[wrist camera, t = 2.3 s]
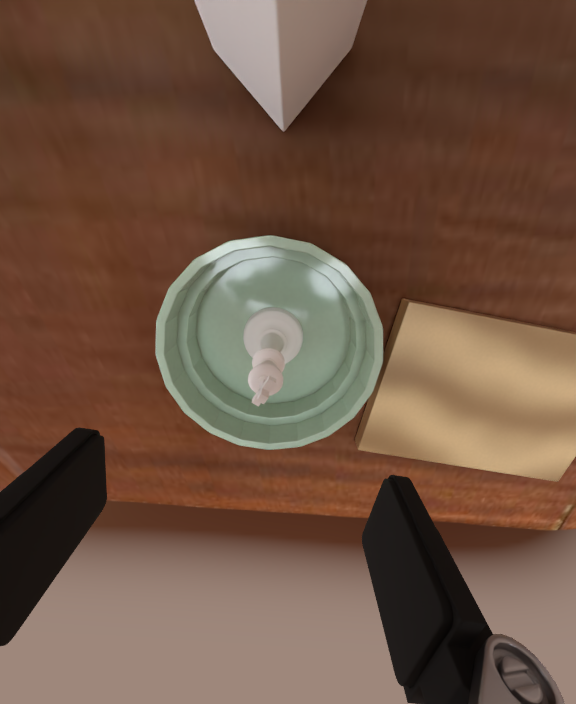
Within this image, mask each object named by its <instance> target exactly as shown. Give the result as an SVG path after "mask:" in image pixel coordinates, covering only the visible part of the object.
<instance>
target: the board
mask: <svg viewBox="0 0 576 704" xmlns="http://www.w3.org/2000/svg"><path fill="white" fill-rule="evenodd" d="M355 442H356V445H357V448H358V450H362V451H368V452H375V453H381V454H387V455H393V456H400V457H406V458H412V459H419V460H425V461H431V462H437V463H444V464H450V465H456V466H462V467H469V468H475V469H481V470H488V471H494V472H500V473H506V474H513V475H519V476H525V477H532V478H538V479H544V480H550V481H557V482H558V481H559V479H560V478H561V476H562V475H563V474H564V472H565V471H566V469H567V468H568V466H569V465H570V464H571V462H572V461H573V459H574V458H575V456H576V332H573V331H568V330H563V329H558V328H552V327H547V326H542V325H537V324H532V323H527V322H522V321H517V320H512V319H506V318H501V317H496V316H491V315H486V314H481V313H476V312H471V311H465V310H460V309H455V308H450V307H445V306H440V305H435V304H430V303H425V302H419V301H414V300H409V299H404V298H402V300H401V303H400V306H399V309H398V312H397V315H396V318H395V321H394V324H393V327H392V330H391V333H390V336H389V339H388V342H387V345H386V348H385V351H384V354H383V364H382V367H381V369H380V372H379V375H378V378H377V381H376V384H375V387H374V390H373V392H372V394H371V395H370V397H369V398H368V401H367V404H366V407H365V410H364V413H363V416H362V419H361V422H360V425H359V428H358V431H357V434H356V437H355Z"/></svg>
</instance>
